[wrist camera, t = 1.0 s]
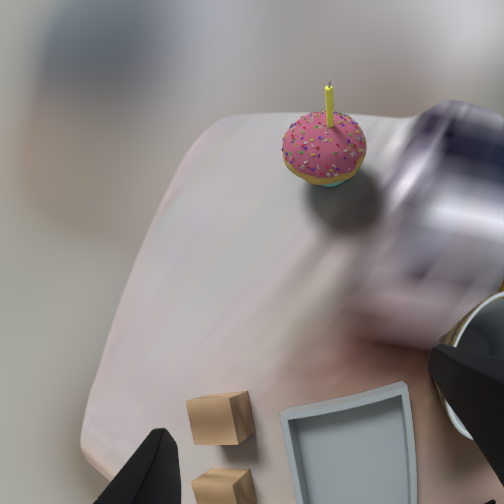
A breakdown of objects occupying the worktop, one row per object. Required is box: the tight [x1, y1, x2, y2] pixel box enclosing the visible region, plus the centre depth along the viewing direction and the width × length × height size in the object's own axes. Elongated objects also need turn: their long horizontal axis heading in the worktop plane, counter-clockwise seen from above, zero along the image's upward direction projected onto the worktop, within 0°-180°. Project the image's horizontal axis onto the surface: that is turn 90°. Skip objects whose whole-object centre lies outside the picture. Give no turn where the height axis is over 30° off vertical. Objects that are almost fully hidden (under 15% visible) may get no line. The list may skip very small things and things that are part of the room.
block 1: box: [186, 391, 255, 445], centre depth 24 cm, size 4×4×4 cm
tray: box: [280, 381, 417, 504], centre depth 18 cm, size 16×11×3 cm
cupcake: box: [282, 79, 366, 187], centre depth 25 cm, size 9×8×12 cm
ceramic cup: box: [434, 279, 504, 441], centre depth 15 cm, size 13×10×10 cm
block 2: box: [191, 468, 257, 504], centre depth 21 cm, size 4×4×4 cm
